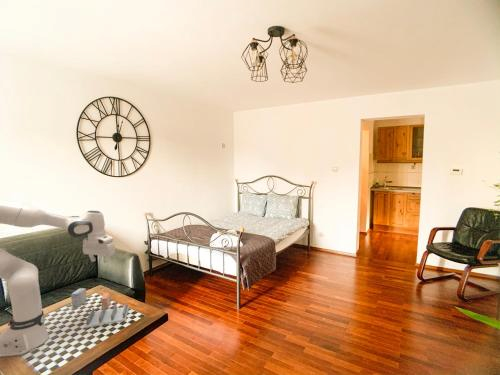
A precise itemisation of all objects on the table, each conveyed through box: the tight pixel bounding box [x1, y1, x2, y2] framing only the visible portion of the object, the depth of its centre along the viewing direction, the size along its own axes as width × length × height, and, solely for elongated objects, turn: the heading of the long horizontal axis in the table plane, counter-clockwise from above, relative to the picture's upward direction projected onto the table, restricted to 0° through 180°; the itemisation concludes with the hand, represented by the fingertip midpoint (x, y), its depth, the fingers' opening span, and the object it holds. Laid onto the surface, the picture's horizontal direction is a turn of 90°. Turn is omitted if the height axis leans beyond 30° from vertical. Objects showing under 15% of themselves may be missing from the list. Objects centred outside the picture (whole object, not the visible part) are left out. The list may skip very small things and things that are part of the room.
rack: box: [85, 302, 130, 329], centre depth 154 cm, size 20×14×4 cm
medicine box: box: [70, 287, 88, 308], centre depth 170 cm, size 8×4×9 cm, turn 178°
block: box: [100, 292, 111, 310], centre depth 166 cm, size 3×8×7 cm, turn 17°
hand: (99, 261), depth 153 cm, fingers open, 8 cm apart
